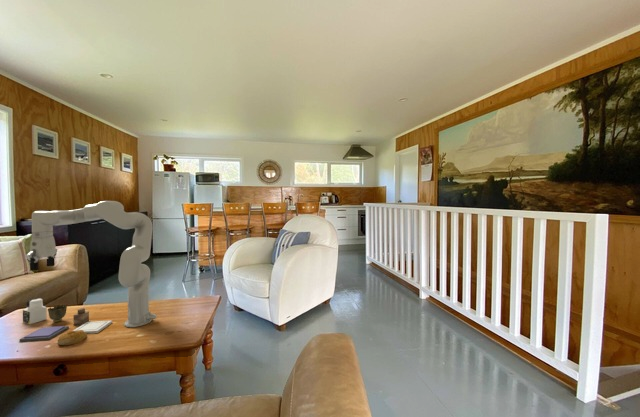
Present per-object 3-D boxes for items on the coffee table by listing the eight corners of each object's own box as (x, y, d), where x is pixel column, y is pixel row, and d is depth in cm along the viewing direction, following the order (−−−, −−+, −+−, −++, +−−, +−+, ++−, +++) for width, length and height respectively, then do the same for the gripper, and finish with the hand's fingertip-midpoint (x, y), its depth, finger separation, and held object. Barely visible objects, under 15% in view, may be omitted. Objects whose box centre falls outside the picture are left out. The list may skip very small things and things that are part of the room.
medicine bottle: (22, 322, 145) (22, 300, 144) (40, 317, 151) (40, 296, 151) (29, 324, 142) (29, 302, 142) (47, 319, 148) (46, 297, 148)
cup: (54, 325, 141) (54, 310, 141) (44, 323, 143) (44, 309, 143) (70, 319, 149) (70, 305, 149) (60, 318, 150) (60, 304, 150)
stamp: (88, 321, 147) (88, 307, 147) (83, 324, 142) (83, 310, 142) (79, 321, 146) (79, 308, 146) (73, 325, 141) (73, 311, 141)
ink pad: (68, 328, 138) (68, 325, 138) (49, 339, 126) (49, 336, 126) (41, 329, 136) (41, 326, 136) (19, 341, 124) (19, 338, 124)
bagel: (92, 334, 132) (92, 324, 131) (75, 346, 121) (75, 336, 121) (70, 336, 130) (69, 326, 130) (50, 348, 119) (50, 337, 119)
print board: (112, 322, 145) (112, 320, 145) (97, 333, 133) (97, 330, 133) (87, 324, 143) (87, 321, 143) (70, 334, 131) (70, 332, 131)
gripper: (36, 236, 129) (36, 272, 129) (64, 233, 146) (64, 264, 147) (18, 237, 128) (18, 272, 128) (48, 233, 145) (48, 264, 145)
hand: (42, 268), depth 137 cm, fingers open, 9 cm apart
